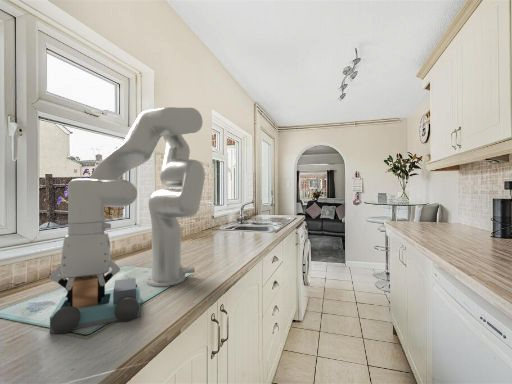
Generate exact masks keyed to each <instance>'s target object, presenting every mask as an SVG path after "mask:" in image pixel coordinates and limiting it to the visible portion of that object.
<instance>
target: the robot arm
mask: <svg viewBox="0 0 512 384" xmlns="http://www.w3.org/2000/svg"><path fill="white" fill-rule="evenodd" d="M203 122H204V121H203V116H202V114H201V113H200V111H199V110H198V109H196V108H194V107H175V106H174V107H169V106H168V107H167V106H165V107H159V108H155V109H154V108H153V109H147V110H144V111H142V112H140V114H139V115H138V116H137V118H136V119H135V122H134V123H133V124H132V126H131V127H130V130H129V132H128V133H127V134H126V137H125V139H124V140H123V142H122V143H121V145H120V146H118V147H117V148H116V149H115V150H114V149H113V151H112V152H111V153H110V154H108V155H107V156H106V157H105V158H104V159H102V160H101V162H99V164H98V165H97V166H96V167H95V169H93V171H92V173H91V175H89V178H73V179H71V180H70V181H69V182H68V187H67V229H68V230H67V231H68V232H67V234H66V235H65V236H64V239H63V241H62V242H63V243H62V249H61V257H60V264H59V266H58V267H56V269H55V270H54V271H53V272H52V273H51V274H50V275H49V277H48V278H49V279H50V280H51V281H53V282H55V283H56V284H57V283H58V285H60V286H61V287H63V288H64V289H65V291H67V292H66V295H67V302H68V303H70V306H73V281H74V280H75V278H76V277H84V276H93V275H97V278H98V281H99V286H98V303H101V300H102V298H103V297H105V291H106V284H107V283H108V282H109V281H110V280H111V279H112V278H113V277H114V276H116V275H117V274H118V273H119V272H120V271H121V267H120V266H119V265H118V264H117V263H116V262H115V261H114V260H113V259H112V258H111V257H112V256H111V255H112V254H111V244H110V236H109V232H107V231H106V230H108V229H110V230H111V229H112V224H111V223H110V222H109V223H108V222H107V221H106V220H105V207H106V208H107V207H110V208H124V207H127V206H130V205H132V204H133V203H134V202H135V201H136V200H137V197H138V189H137V188H136V186H135V184H134V183H132V181H129V180H127V179H120V178H121V177H122V176H123V175H124V174H126V173H127V172H129V171H131V170H133V169H135V168H138V167H139V166H141V165H144V164H145V163H147V162H148V161H150V159H151V158H152V155H153V153H154V152H155V149H156V147H157V145H158V143H159V140H161V137H163V140H164V143H165V152H164V156H163V161H162V164H161V169H160V174H159V175H160V177H159V179H160V182H161V183H162V185H164V186H166V187H174V188H165V189H164V188H163V189H161V188H160V189H157V190H155V191H154V192H152V194H151V195H150V196H149V198H148V210H149V215H150V222H151V275H150V276H148V277H147V278H146V284H147V285H149V286H152V287H169V286H170V285H171V286H175V285H178V284H181V283H183V282H184V281H185V280H186V274H192V273H193V274H194V273H195V266H192V267H191V266H185V267H184V266H183V265H182V251H181V250H182V248H181V247H182V245H181V244H182V243H181V239H182V230H181V229H182V228H181V225H180V222H179V221H178V218H181V219H182V218H183V219H186V218H187V219H188V218H192V217H194V216H195V215H196V214H197V212H198V211H199V208H200V205H201V200H202V194H203V191H204V190H203V189H204V184H205V178H206V176H205V175H206V173H205V168H204V166H203V164H202V163H201V162H200V161H198V160H196V159H190V154H191V149H190V146H189V144H188V142H187V141H186V139H185V137H184V136H183V135H189V134H196V133H198V132H200V130H201V129H202V127H203ZM176 188H181V189H176ZM110 269H112V270H110ZM106 273H107V274H106Z"/></svg>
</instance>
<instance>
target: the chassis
mask: <svg viewBox="0 0 512 384" xmlns="http://www.w3.org/2000/svg"><path fill="white" fill-rule="evenodd" d="M136 280H137V279H136V277H132V278H125V279H123V278H122V279H115V280H114V284H113V289H111V290H110V289H109V290H105V297H103V298H102V300H101V303H99V304H98V305H97V306H90V307H84V308H78V309H77V308H76V307H73V306H70V303H68V302H67V294H66V295H65V296H62V298H61V299H60V300H59V302H58V304H56V307H55V308H54V310H53V312H52V313H51V315H50V316H49V334H53V333H54V334H55V333H57V334H61V335H62V334H67V333H70V332H72V331H73V330H75V329H80V328H81V327H82V328H86V326H87V327H92V326H97V325H96V324H98V325H102V324H101V323H103V324H106V323H105V322H108V323H113V322H122V323H126V322H130V321H132V320H134V319H135V318H140V317H142V316H141V315H142V314H141V313H142V312H141V309H142V307H141V294H140V293H141V292H140V286H138V285H137V282H136ZM91 325H92V326H91Z"/></svg>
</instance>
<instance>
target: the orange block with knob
mask: <svg viewBox="0 0 512 384" xmlns="http://www.w3.org/2000/svg"><path fill="white" fill-rule="evenodd" d="M98 286H99V281H98V278H97V275H93V276H84V277H76V278H75V280H74V281H73V307H76V308H77V309H78V308H84V307H90V306H97V305H98V304H99V303H98Z"/></svg>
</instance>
